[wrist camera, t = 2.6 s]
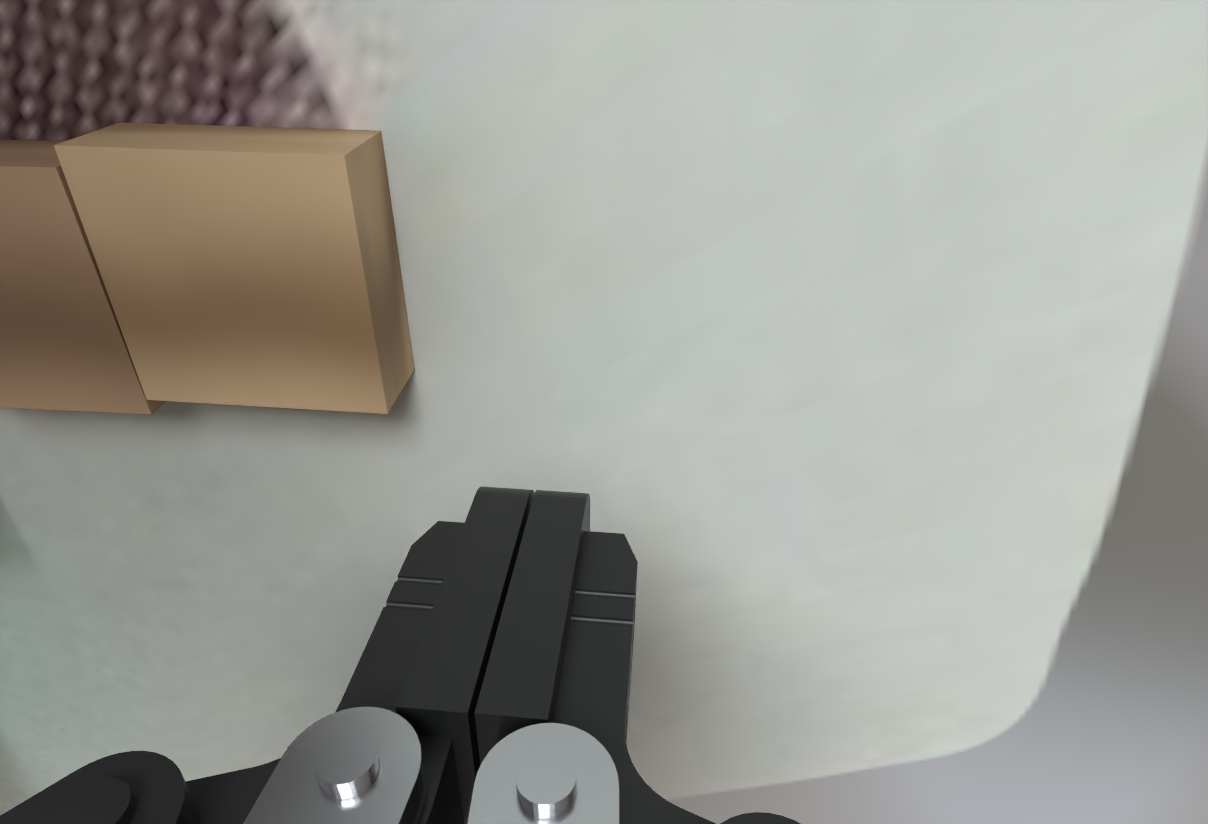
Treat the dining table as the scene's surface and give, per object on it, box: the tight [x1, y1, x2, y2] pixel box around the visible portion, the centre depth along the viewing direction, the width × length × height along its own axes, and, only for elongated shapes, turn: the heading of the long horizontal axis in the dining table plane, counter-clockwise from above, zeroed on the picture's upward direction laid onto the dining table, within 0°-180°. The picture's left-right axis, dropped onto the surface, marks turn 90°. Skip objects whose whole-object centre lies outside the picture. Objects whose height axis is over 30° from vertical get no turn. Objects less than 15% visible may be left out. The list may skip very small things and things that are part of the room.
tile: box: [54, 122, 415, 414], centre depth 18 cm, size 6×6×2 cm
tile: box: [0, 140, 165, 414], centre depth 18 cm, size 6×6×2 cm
